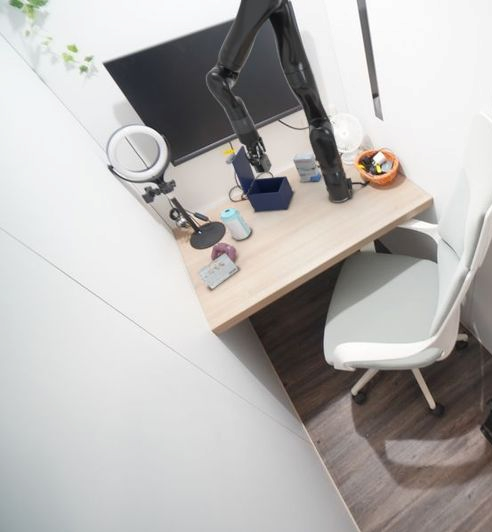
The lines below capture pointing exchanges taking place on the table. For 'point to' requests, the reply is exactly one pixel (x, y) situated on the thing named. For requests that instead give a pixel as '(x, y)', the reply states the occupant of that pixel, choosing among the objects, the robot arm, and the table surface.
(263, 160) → the dice cube
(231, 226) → the can
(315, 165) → the ink box
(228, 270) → the ink box
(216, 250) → the video game controller
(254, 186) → the chest
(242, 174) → the lid
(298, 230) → the table surface
